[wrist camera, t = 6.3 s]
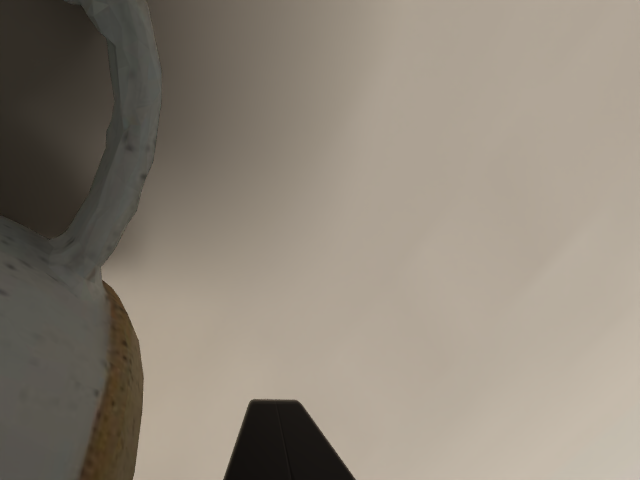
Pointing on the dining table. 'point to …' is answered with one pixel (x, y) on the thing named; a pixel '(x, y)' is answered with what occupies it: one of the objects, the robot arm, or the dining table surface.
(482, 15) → the dining table surface
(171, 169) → the dining table surface
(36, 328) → the ceramic mug
